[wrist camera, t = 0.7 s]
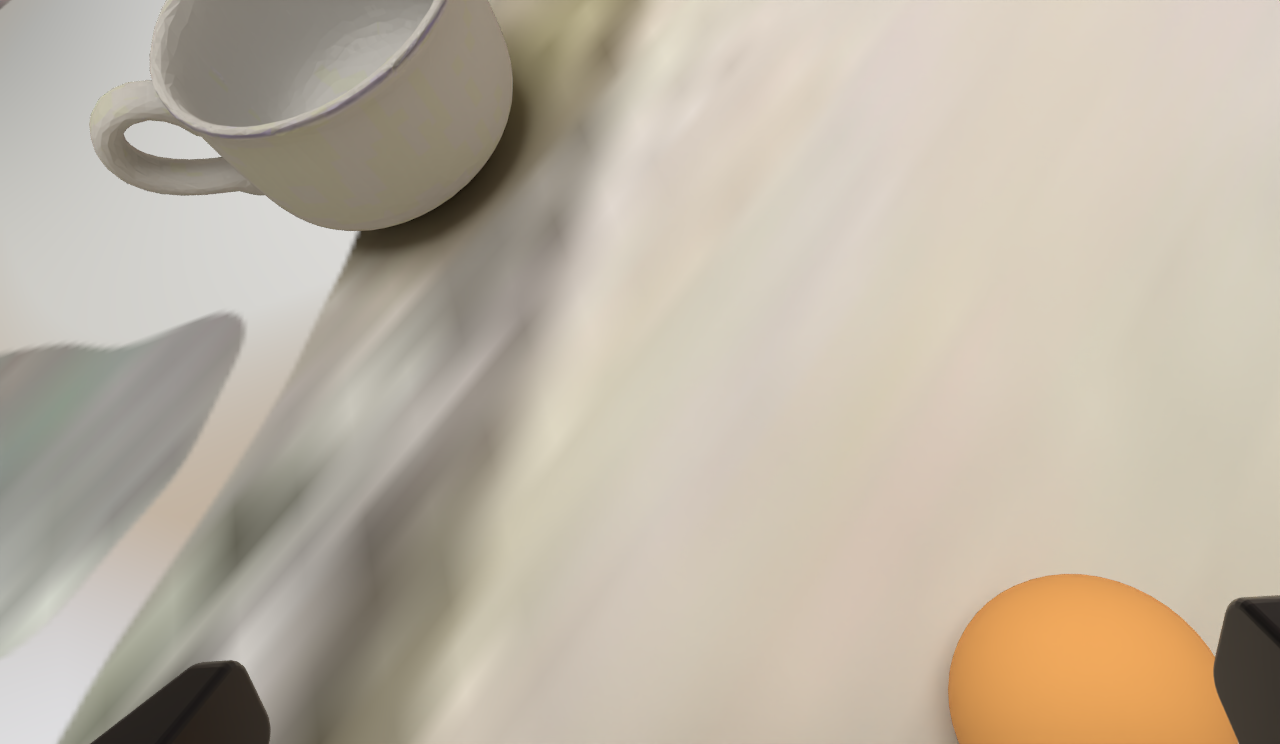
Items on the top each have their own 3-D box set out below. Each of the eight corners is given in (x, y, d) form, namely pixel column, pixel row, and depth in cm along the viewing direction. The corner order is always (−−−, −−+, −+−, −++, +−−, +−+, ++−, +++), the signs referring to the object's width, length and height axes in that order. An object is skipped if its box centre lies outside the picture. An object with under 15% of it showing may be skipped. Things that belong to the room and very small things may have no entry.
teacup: (529, 17, 36) (435, -175, 29) (568, 215, 31) (462, 35, 24) (232, 135, 38) (81, -18, 32) (218, 340, 33) (29, 208, 26)
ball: (1229, 855, 18) (1321, 857, 13) (963, 846, 19) (969, 844, 15) (1167, 602, 20) (1228, 535, 16) (934, 609, 21) (933, 550, 17)
